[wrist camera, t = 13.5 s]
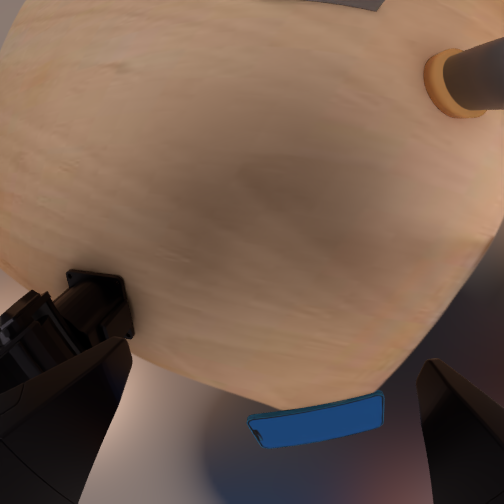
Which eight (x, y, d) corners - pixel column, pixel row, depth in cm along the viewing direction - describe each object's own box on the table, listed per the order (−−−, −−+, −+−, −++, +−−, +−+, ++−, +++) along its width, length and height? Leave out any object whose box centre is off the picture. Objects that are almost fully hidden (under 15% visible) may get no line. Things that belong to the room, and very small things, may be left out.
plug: (414, 91, 15) (546, 62, 3) (433, 42, 13) (544, -9, 1) (465, 131, 15) (596, 150, 3) (481, 82, 13) (599, 73, 2)
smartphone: (383, 426, 27) (262, 449, 29) (381, 420, 27) (263, 443, 30) (384, 391, 24) (243, 419, 27) (382, 385, 25) (244, 412, 28)
